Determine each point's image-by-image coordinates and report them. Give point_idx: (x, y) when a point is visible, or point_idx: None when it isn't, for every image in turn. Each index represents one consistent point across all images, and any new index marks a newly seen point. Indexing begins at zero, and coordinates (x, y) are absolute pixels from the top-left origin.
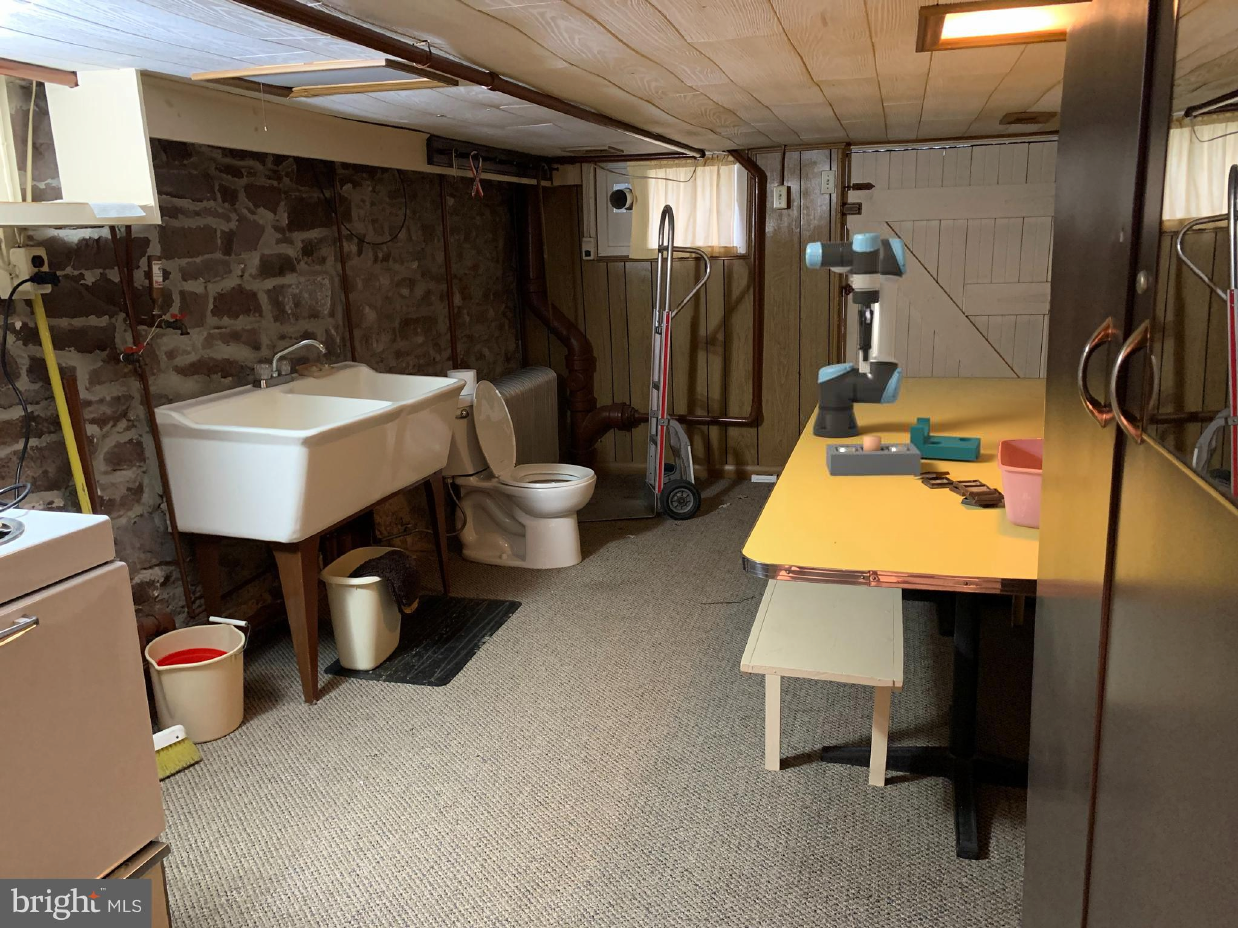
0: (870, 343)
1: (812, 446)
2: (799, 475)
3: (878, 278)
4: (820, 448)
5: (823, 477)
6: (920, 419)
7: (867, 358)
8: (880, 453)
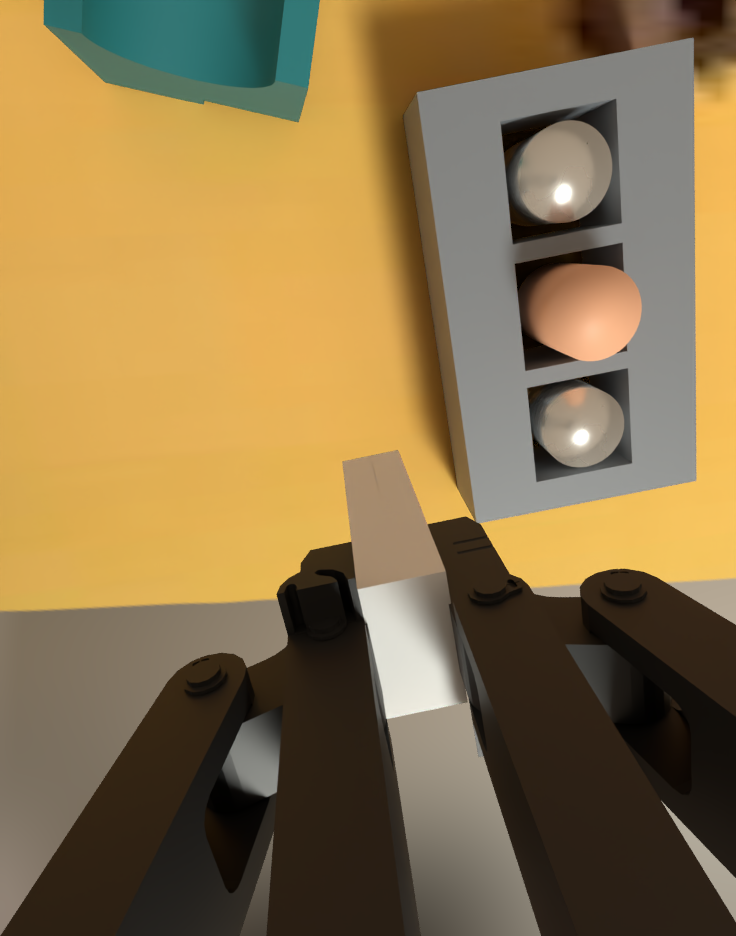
0: (711, 627)
1: (114, 582)
2: (642, 555)
3: None
4: (148, 547)
5: None
6: (84, 4)
7: (486, 540)
8: (683, 261)
